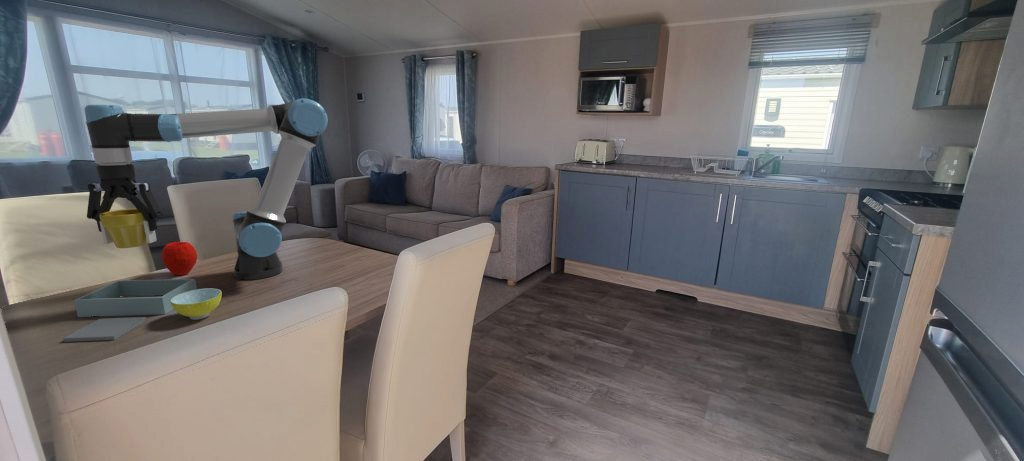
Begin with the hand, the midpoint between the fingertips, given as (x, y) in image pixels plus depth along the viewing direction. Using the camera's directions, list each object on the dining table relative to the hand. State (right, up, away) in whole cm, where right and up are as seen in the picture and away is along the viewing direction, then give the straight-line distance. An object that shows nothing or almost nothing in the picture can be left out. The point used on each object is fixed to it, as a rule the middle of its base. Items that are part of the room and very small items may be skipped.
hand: (131, 242), depth 119 cm
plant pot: (0, -1, 0) cm, 1 cm away
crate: (-1, -18, +4) cm, 19 cm away
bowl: (+22, -21, -3) cm, 30 cm away
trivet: (+5, -22, -12) cm, 26 cm away
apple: (-9, -12, +31) cm, 34 cm away
